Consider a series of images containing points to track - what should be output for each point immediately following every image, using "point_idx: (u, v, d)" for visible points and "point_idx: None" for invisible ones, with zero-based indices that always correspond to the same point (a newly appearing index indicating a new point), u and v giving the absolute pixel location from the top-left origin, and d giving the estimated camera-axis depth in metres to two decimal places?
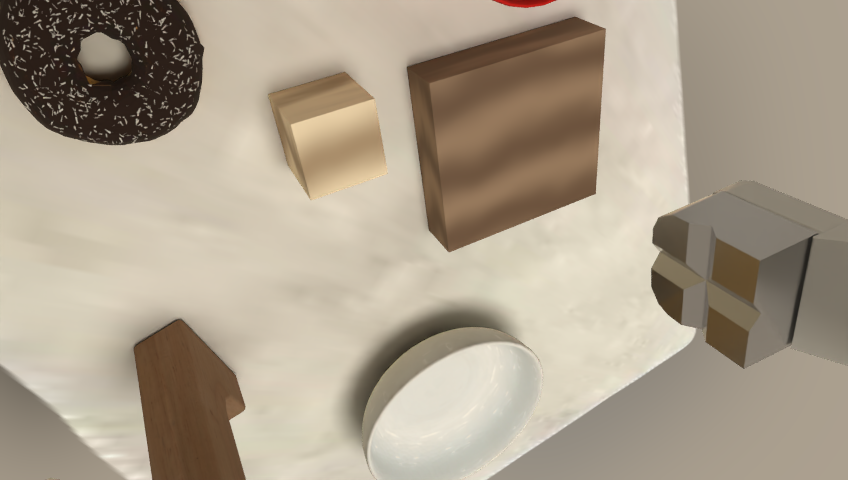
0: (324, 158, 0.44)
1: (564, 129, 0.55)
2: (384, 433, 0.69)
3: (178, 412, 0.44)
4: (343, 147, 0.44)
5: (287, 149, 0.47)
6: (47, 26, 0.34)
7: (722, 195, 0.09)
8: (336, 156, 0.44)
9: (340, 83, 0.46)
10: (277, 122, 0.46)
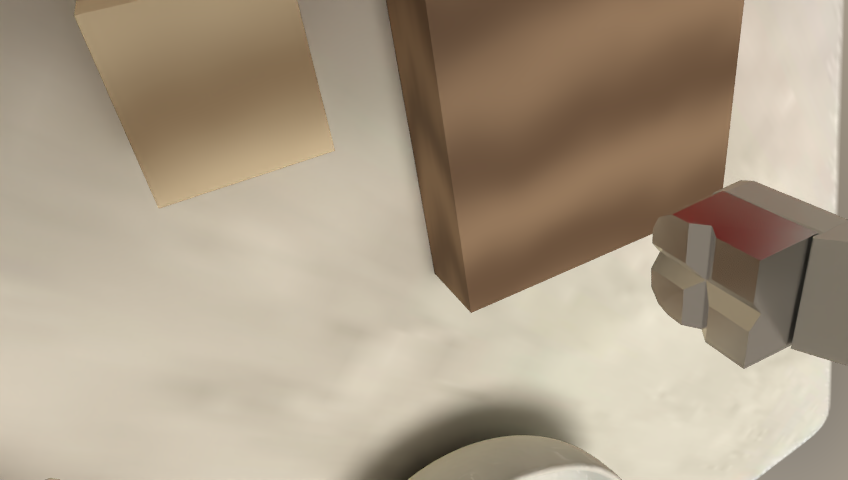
0: (178, 107, 0.19)
1: (676, 81, 0.30)
2: None
3: None
4: (223, 83, 0.19)
5: None
6: None
7: (722, 195, 0.09)
8: (207, 104, 0.19)
9: None
10: None
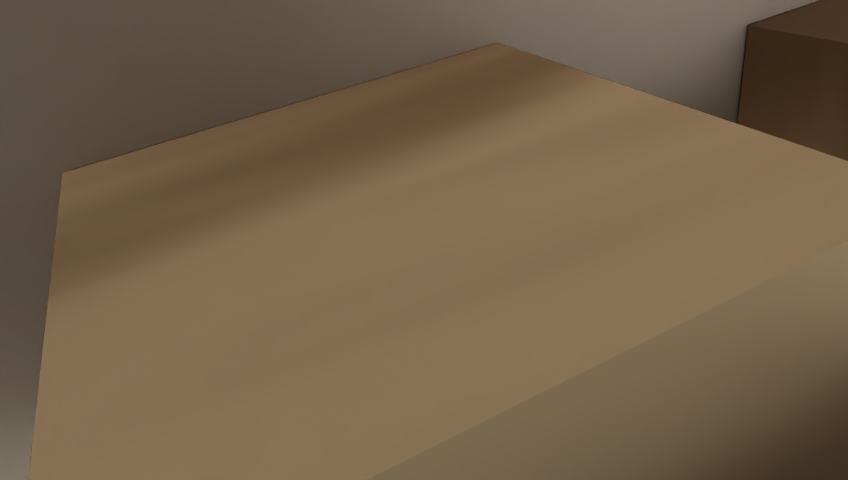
0: None
1: None
2: None
3: None
4: None
5: None
6: None
7: None
8: None
9: (506, 93, 0.07)
10: None
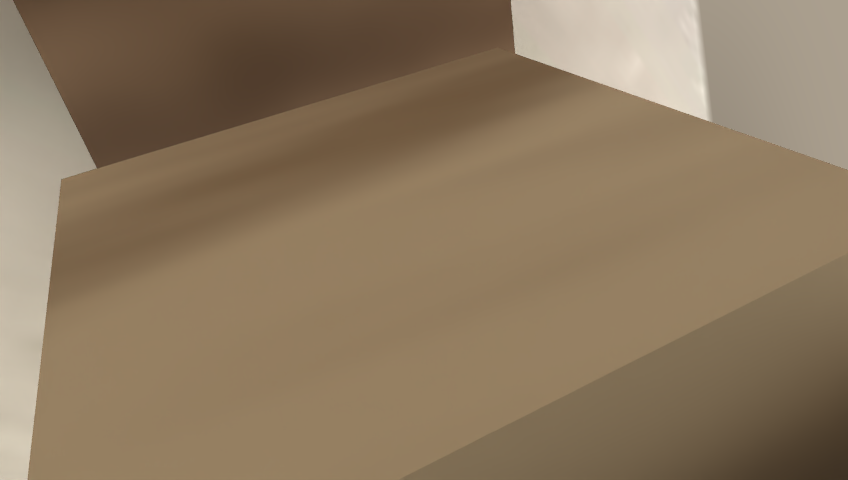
0: None
1: (423, 33, 0.23)
2: None
3: None
4: None
5: None
6: None
7: None
8: None
9: (506, 99, 0.07)
10: None
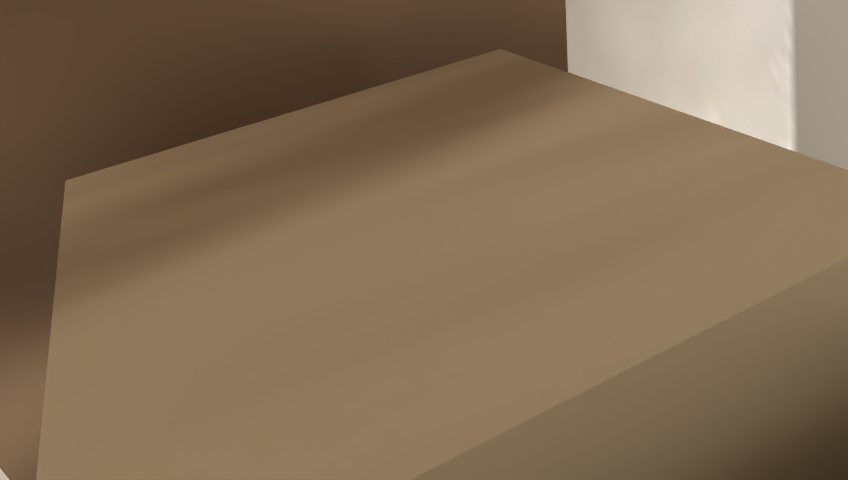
0: None
1: None
2: None
3: None
4: None
5: None
6: None
7: None
8: None
9: (510, 100, 0.07)
10: None
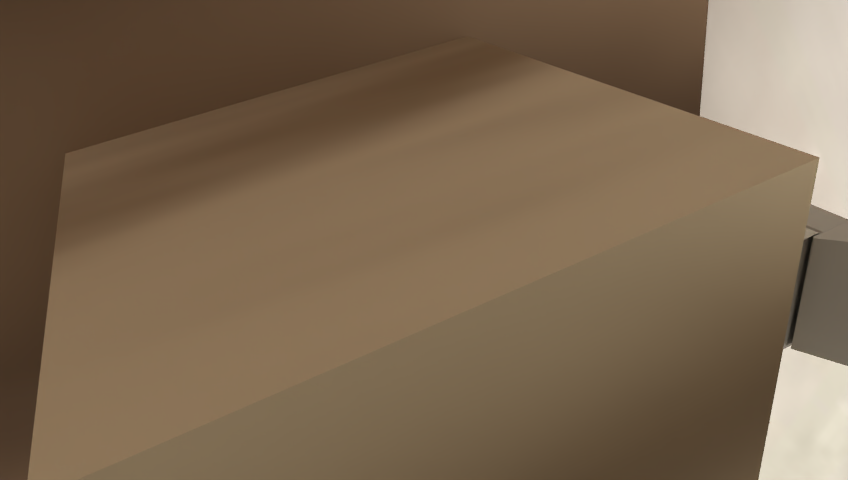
0: None
1: None
2: None
3: None
4: None
5: None
6: None
7: None
8: None
9: (468, 80, 0.08)
10: None
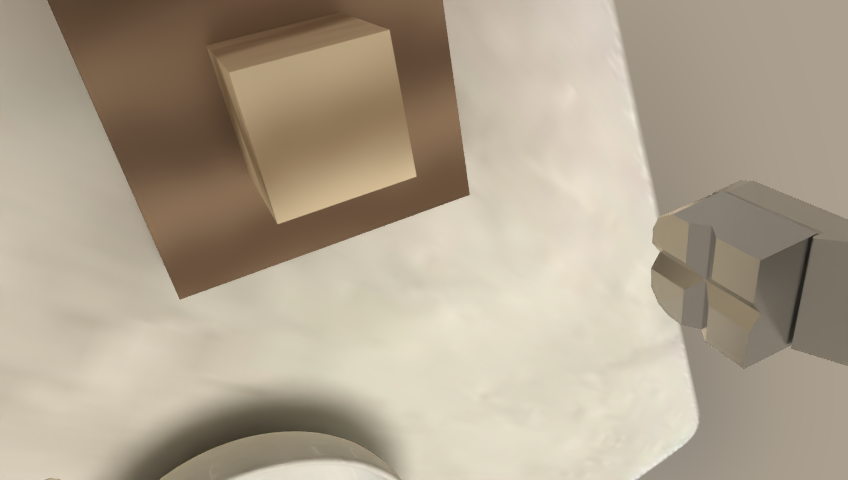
0: (299, 142, 0.23)
1: None
2: None
3: None
4: (334, 123, 0.24)
5: (241, 140, 0.27)
6: None
7: (722, 195, 0.09)
8: (321, 140, 0.24)
9: (331, 22, 0.26)
10: (223, 94, 0.27)
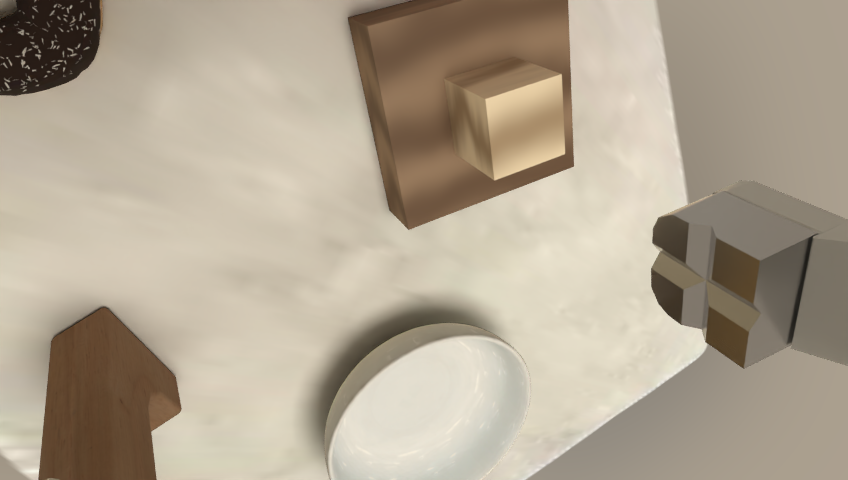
0: (511, 135, 0.43)
1: None
2: (354, 449, 0.61)
3: (81, 400, 0.38)
4: (528, 124, 0.43)
5: (462, 133, 0.46)
6: None
7: (722, 195, 0.09)
8: (521, 134, 0.43)
9: (516, 65, 0.46)
10: (452, 107, 0.46)
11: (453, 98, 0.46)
